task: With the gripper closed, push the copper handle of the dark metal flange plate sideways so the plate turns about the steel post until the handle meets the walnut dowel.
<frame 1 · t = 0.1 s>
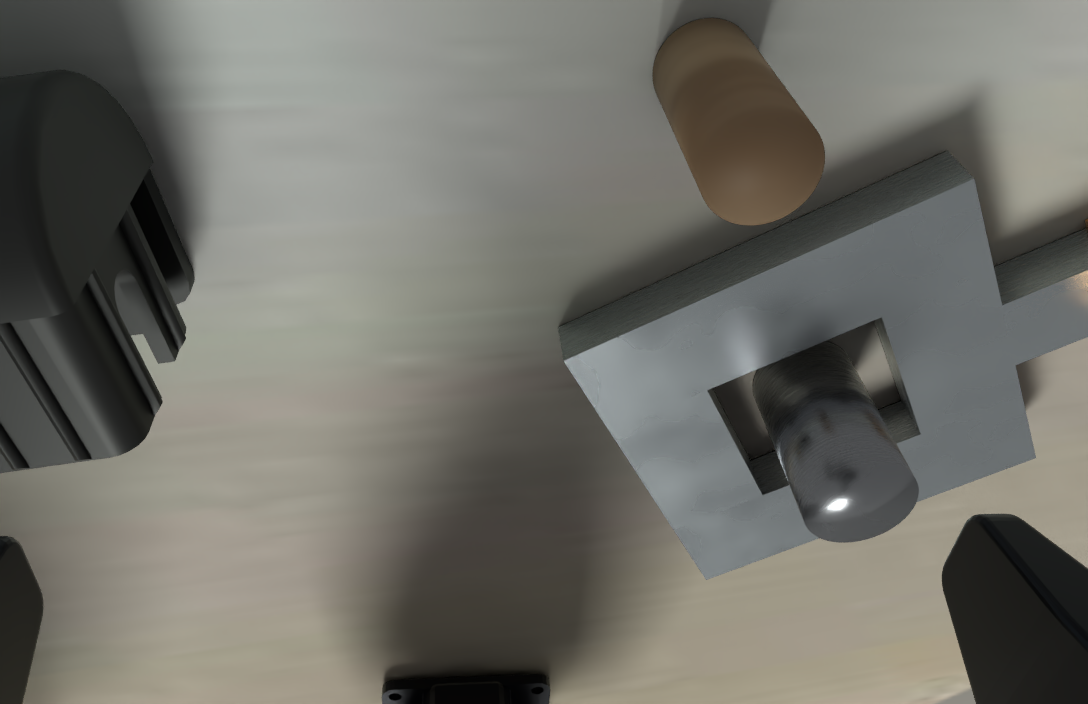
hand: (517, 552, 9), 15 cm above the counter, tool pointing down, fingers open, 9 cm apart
dowel: (703, 70, 21), on the counter
post: (801, 379, 27), on the counter
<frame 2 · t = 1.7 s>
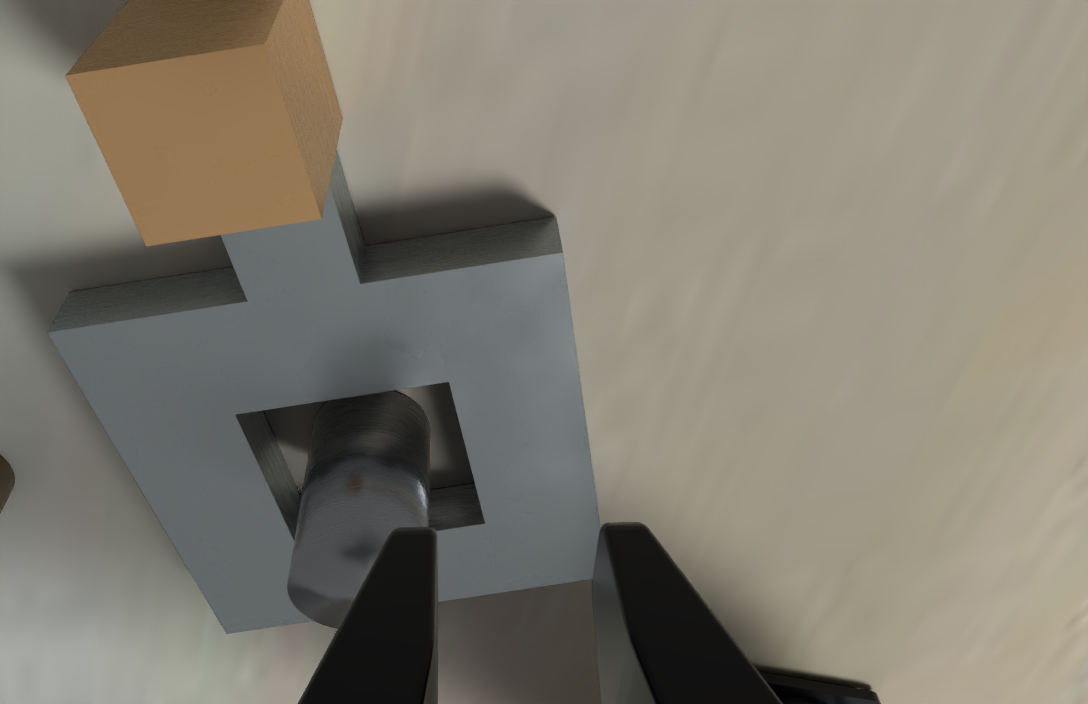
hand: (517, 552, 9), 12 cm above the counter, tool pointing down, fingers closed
flange plate: (245, 58, 18), on the counter
post: (372, 431, 24), on the counter
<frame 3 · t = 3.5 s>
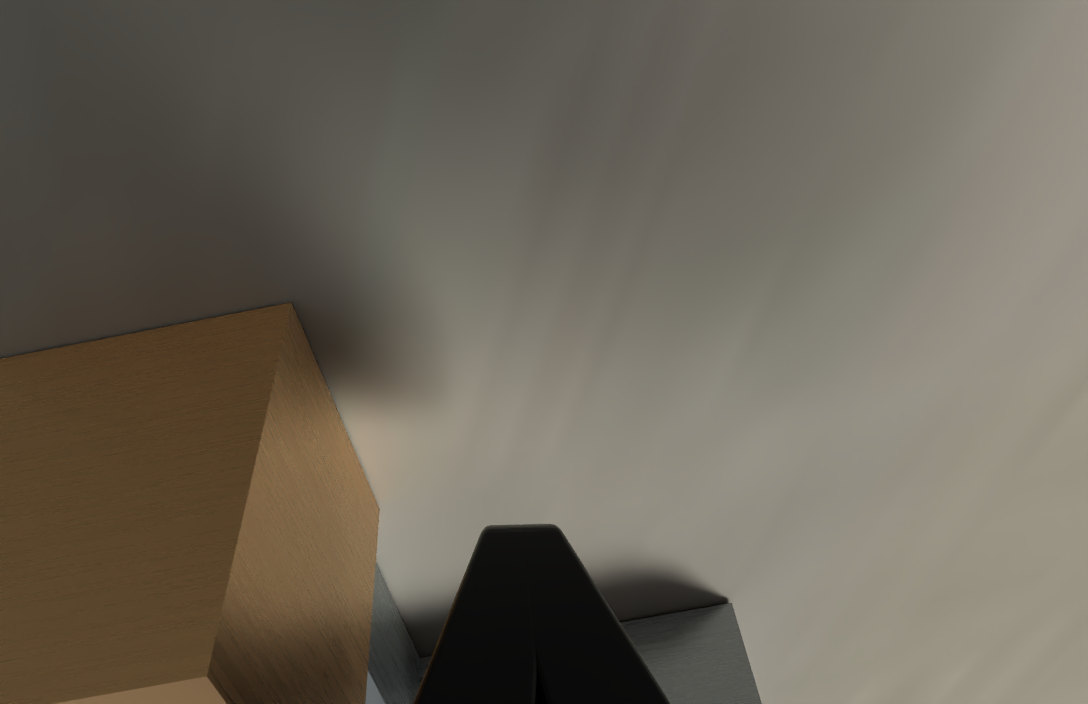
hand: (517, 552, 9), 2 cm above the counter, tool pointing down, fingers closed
flange plate: (202, 441, 10), on the counter, touching gripper
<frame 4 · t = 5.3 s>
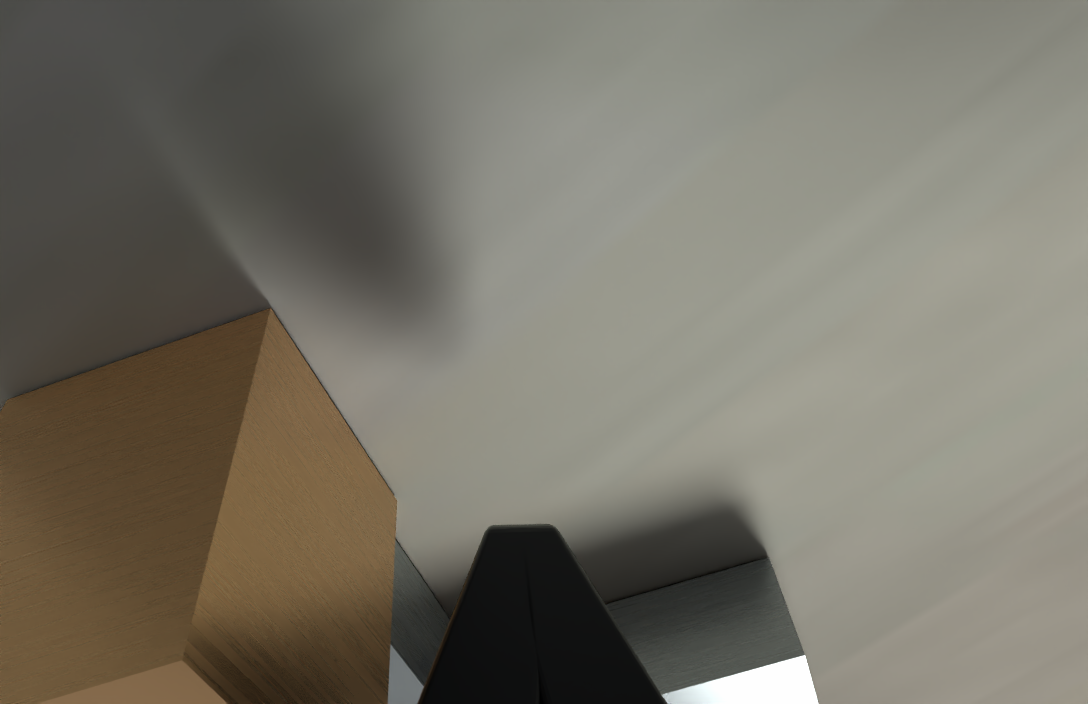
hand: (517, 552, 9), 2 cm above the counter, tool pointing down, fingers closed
flange plate: (215, 453, 10), on the counter, touching gripper
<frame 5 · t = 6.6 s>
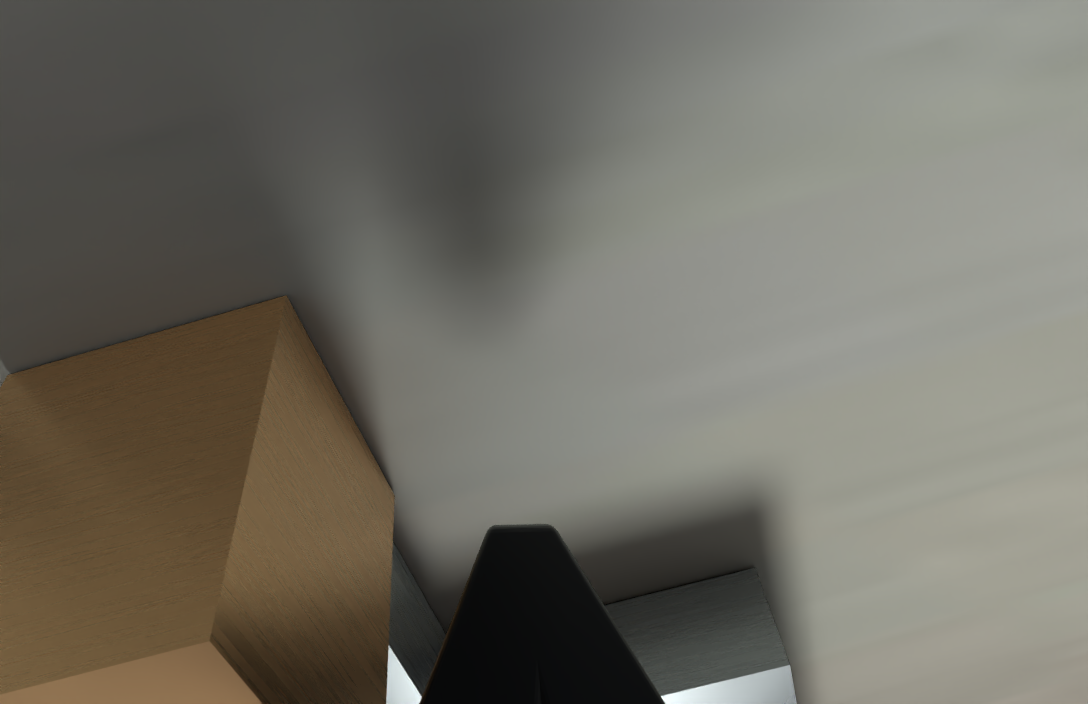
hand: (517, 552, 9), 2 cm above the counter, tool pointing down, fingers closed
flange plate: (216, 440, 10), on the counter, touching gripper, post
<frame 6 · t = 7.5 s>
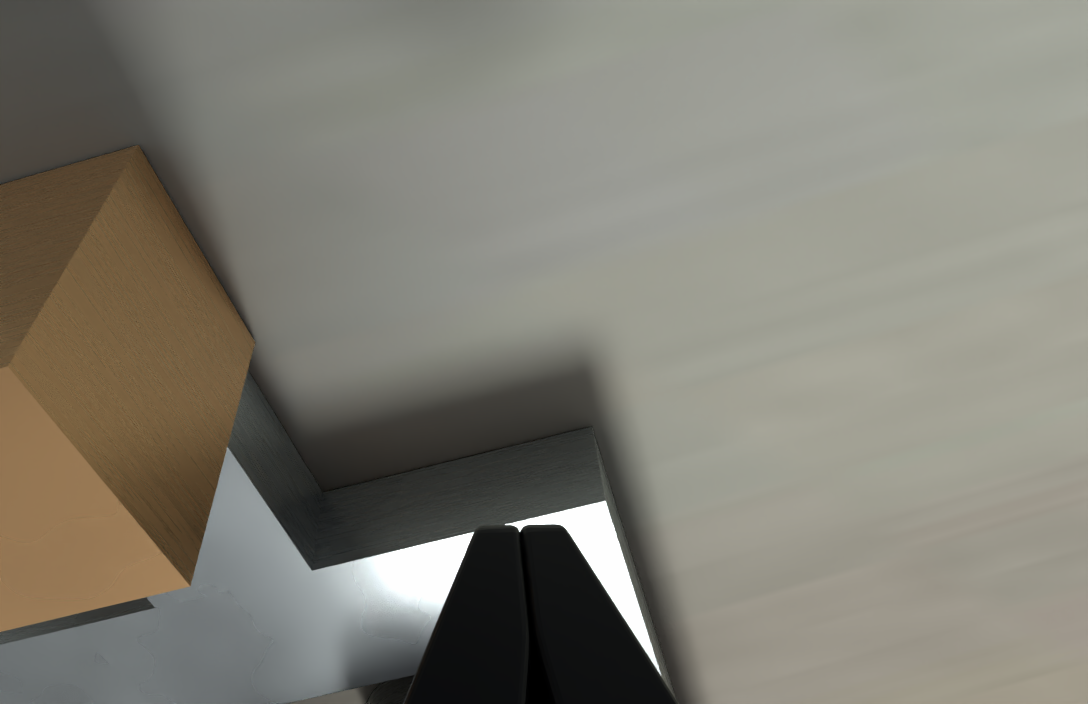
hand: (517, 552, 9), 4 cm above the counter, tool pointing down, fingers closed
flange plate: (90, 282, 11), on the counter, touching post
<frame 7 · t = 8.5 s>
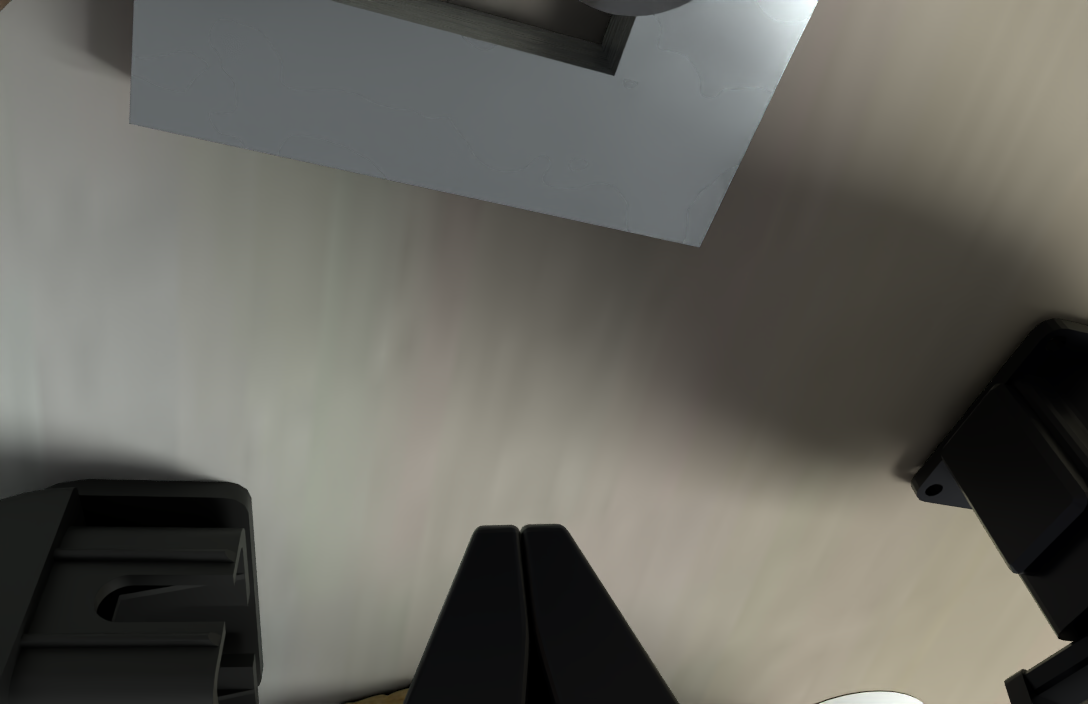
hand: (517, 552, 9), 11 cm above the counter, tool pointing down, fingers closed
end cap: (131, 580, 26), on the counter
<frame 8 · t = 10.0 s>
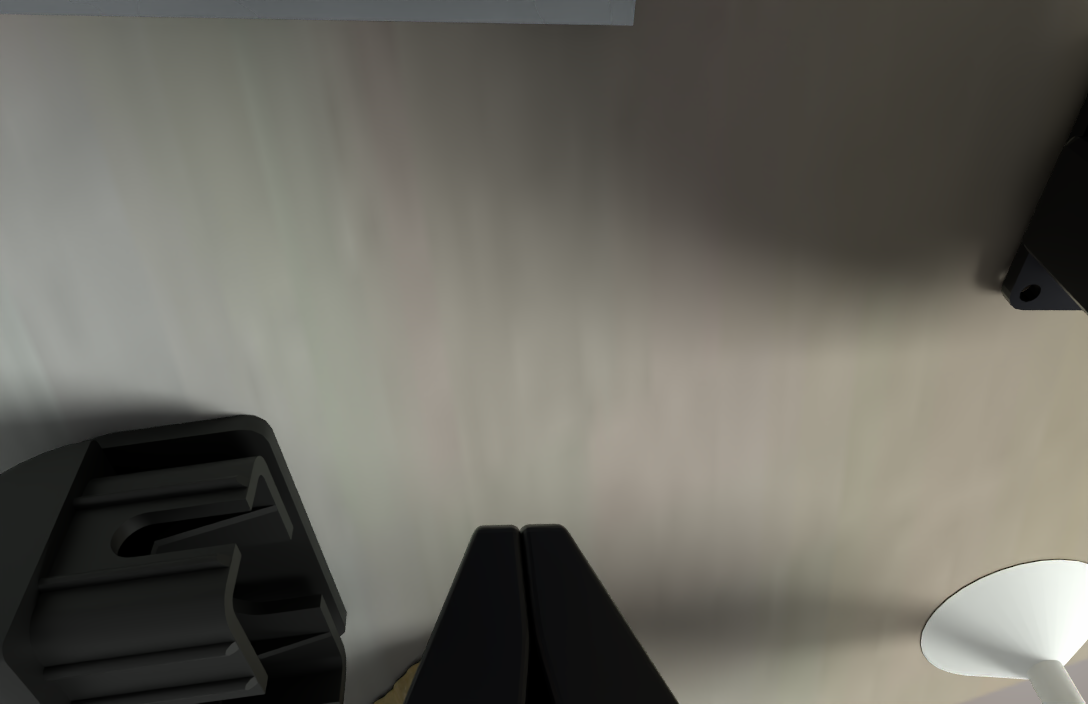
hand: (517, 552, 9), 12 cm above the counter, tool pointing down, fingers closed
rock: (439, 684, 32), on the counter
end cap: (191, 537, 26), on the counter
champagne flute: (1013, 616, 32), on the counter
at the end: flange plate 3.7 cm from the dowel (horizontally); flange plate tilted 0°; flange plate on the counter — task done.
